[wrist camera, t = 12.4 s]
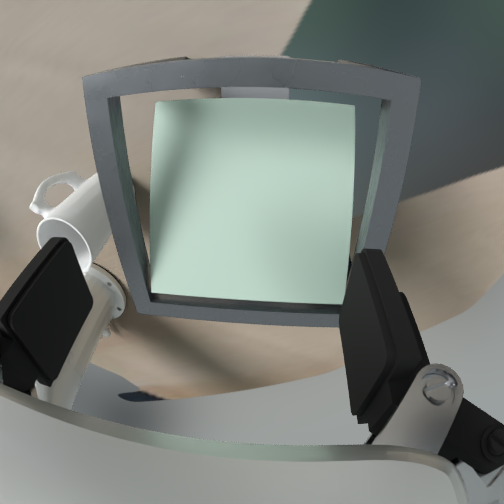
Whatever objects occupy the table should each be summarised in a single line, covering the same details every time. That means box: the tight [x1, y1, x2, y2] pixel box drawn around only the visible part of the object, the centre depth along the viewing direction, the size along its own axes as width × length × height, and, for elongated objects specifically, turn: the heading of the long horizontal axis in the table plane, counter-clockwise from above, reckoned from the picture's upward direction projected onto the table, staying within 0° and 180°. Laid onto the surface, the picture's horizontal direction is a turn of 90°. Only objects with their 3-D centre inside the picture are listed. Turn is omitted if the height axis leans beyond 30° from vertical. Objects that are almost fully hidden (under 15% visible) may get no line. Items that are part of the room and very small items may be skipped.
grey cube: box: [221, 55, 290, 99], centre depth 25 cm, size 6×6×6 cm
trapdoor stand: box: [82, 57, 421, 327], centre depth 24 cm, size 18×18×16 cm
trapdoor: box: [150, 98, 355, 304], centre depth 21 cm, size 14×14×1 cm
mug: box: [30, 171, 135, 273], centre depth 30 cm, size 10×7×12 cm, turn 42°
